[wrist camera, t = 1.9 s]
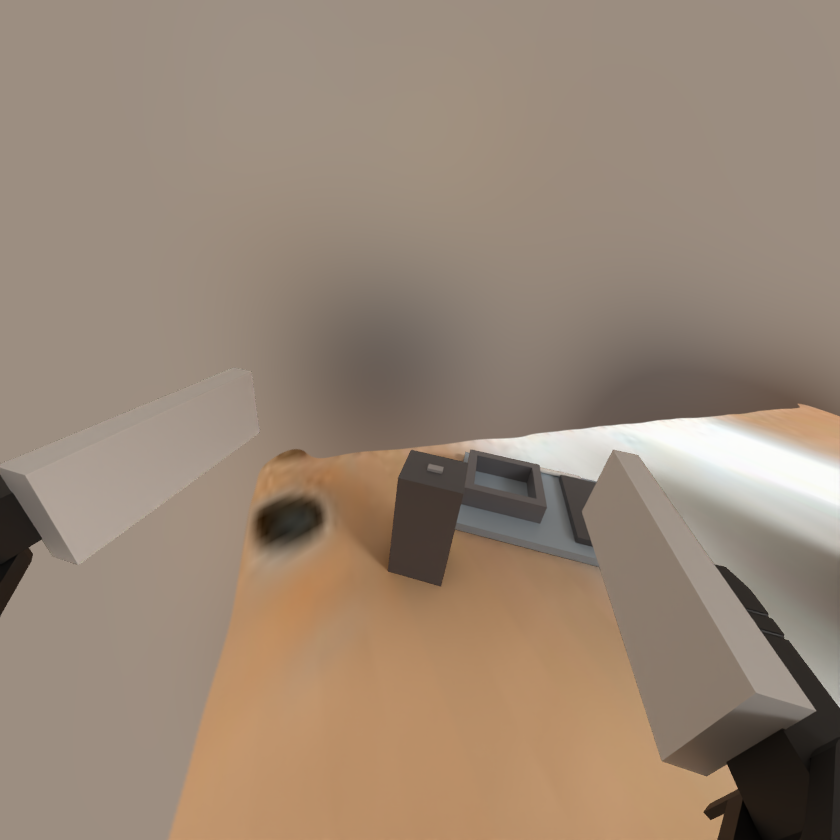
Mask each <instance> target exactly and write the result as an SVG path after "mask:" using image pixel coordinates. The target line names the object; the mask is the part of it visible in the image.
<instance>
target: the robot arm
mask: <svg viewBox="0 0 840 840" xmlns="http://www.w3.org/2000/svg"><path fill="white" fill-rule="evenodd" d="M259 433H260V431H259V423H258V415H257V408H256V401H255V393H254V386H253V378H252V371H248V370H243V369H239V368H231V369H229V370H227V371H224V372H222V373H219V374H217V375H214V376H212V377H209V378H207V379H205V380H202V381H200V382H197V383H195V384H192V385H190V386H188V387H185V388H183V389H180V390H178V391H176V392H173V393H171V394H168V395H166V396H164V397H161V398H158V399H156V400H154V401H151V402H149V403H146V404H144V405H142V406H140V407H137V408H134V409H132V410H129V411H127V412H125V413H122V414H120V415H117V416H115V417H113V418H110V419H108V420H105V421H103V422H100V423H98V424H96V425H94V426H91V427H88V428H86V429H84V430H81V431H79V432H76V433H74V434H71V435H69V436H67V437H64V438H62V439H59V440H57V441H54V442H52V443H50V444H47V445H45V446H42V447H40V448H38V449H35V450H33V451H30V452H28V453H26V454H23V455H20V456H18V457H16V458H13V459H11V460H8V461H6V462H4V463H1V464H0V615H1V614H2V612H3V610H4V608H5V607H6V605H7V603H8V601H9V600H10V598H11V596H12V594H13V593H14V591H15V589H16V587H17V586H18V584H19V582H20V580H21V578H22V577H23V575H24V573H25V571H26V570H27V568H28V565H29V564H30V563H31V560H32V556H33V553H32V552H31V551H30V549H29V548H28V547H30V546H31V545H33V544H35V543H36V542H38V541H40V540H41V539H42V541H43V542H44V544H45V545H46V547H47V548H48V550H49V551H50V553H51V555H52V556H53V557H56V558H59V559H62V560H64V561H67V562H70V563H73V564H76V565H80V564H81V563H82V562H84V561H85V560H86V559H88V558H89V557H90V556H92V555H93V554H94V553H96V552H97V551H99V550H100V549H101V548H103V547H104V546H106V545H107V544H108V543H110V542H111V541H112V540H114V539H115V538H116V537H118V536H119V535H120V534H122V533H123V532H125V531H126V530H127V529H129V528H130V527H131V526H133V525H134V524H136V523H137V522H138V521H140V520H141V519H142V518H144V517H145V516H147V515H148V514H149V513H151V512H152V511H153V510H155V509H156V508H158V507H159V506H160V505H162V504H163V503H164V502H166V501H167V500H169V499H170V498H171V497H173V496H174V495H175V494H177V493H178V492H179V491H181V490H182V489H183V488H185V487H186V486H188V485H189V484H190V483H192V482H193V481H195V480H196V479H197V478H199V477H200V476H201V475H203V474H204V473H206V472H207V471H208V470H210V469H211V468H212V467H214V466H215V465H216V464H218V463H219V462H221V461H222V460H223V459H225V458H226V457H227V456H229V455H230V454H232V453H233V452H234V451H236V450H237V449H238V448H240V447H241V446H242V445H244V444H245V443H247V442H248V441H249V440H251V439H252V438H253V437H255V436H256V435H258V434H259ZM582 514H583V517H584V520H585V523H586V526H587V530H588V533H589V536H590V539H591V542H592V545H593V548H594V551H595V555H596V558H597V561H598V564H599V567H600V570H601V573H602V576H603V580H604V583H605V586H606V589H607V592H608V595H609V598H610V601H611V604H612V608H613V611H614V614H615V617H616V620H617V623H618V626H619V629H620V633H621V636H622V639H623V642H624V645H625V648H626V651H627V654H628V657H629V661H630V664H631V667H632V670H633V673H634V676H635V679H636V682H637V686H638V689H639V692H640V695H641V698H642V701H643V704H644V707H645V710H646V714H647V717H648V720H649V723H650V726H651V729H652V732H653V735H654V739H655V742H656V745H657V748H658V751H659V754H660V757H661V760H662V761H663V762H666V763H669V764H672V765H675V766H678V767H681V768H684V769H687V770H690V771H693V772H696V773H699V774H701V775H704V776H708V775H710V774H711V773H713V772H715V771H716V770H718V769H720V768H721V767H723V766H725V765H728V767H729V769H730V772H731V774H732V776H733V778H734V781H735V783H736V785H737V787H738V789H737V790H735V791H734V792H732V793H730V794H728V795H726V796H724V797H722V798H720V799H718V800H716V801H714V802H712V803H710V804H709V805H708V807H707V808H706V809H705V811H704V813H705V814H706V816H707V817H708V818H709V819H710V820H712V819H714V818H716V817H718V816H720V815H722V814H724V817H723V821H722V825H721V828H720V832H719V836H718V840H840V708H839V707H838V705H837V704H836V703H835V701H834V700H833V699H832V697H831V696H830V695H829V693H828V692H827V691H826V689H825V688H824V687H823V685H822V684H821V683H820V681H819V680H818V679H817V677H816V676H815V675H814V673H813V672H812V671H811V670H810V668H809V667H808V666H807V664H806V663H805V662H804V660H803V659H802V658H801V656H800V655H799V654H798V652H797V651H796V650H795V648H794V647H793V646H792V644H791V643H790V642H789V640H785V639H784V634H783V632H782V631H781V630H780V628H779V627H778V626H777V624H776V623H775V622H774V620H773V619H771V618H769V617H768V612H767V611H766V610H765V608H764V607H763V606H762V604H761V603H760V602H759V600H758V599H757V598H756V596H755V595H754V594H753V592H752V591H751V590H750V589H749V588H748V587H747V586H746V585H745V584H744V583H743V582H741V581H740V580H739V579H738V578H737V577H736V576H735V575H734V574H733V573H732V572H730V571H729V570H728V569H727V568H726V567H723V566H719V565H715V564H714V563H713V562H712V560H711V559H710V558H709V556H708V555H707V553H706V552H705V550H704V549H703V547H702V546H701V545H700V543H699V542H698V540H697V539H696V537H695V536H694V535H693V533H692V532H691V530H690V529H689V527H688V526H687V525H686V523H685V522H684V520H683V519H682V517H681V516H680V515H679V513H678V512H677V510H676V509H675V507H674V506H673V504H672V503H671V502H670V500H669V499H668V497H667V496H666V494H665V493H664V492H663V490H662V489H661V487H660V486H659V484H658V483H657V482H656V480H655V479H654V477H653V476H652V474H651V473H650V471H649V470H648V469H647V467H646V466H645V464H644V463H643V461H642V460H641V459H640V457H639V456H638V455H635V454H631V453H626V452H621V451H617V450H613V451H612V453H611V455H610V457H609V459H608V461H607V463H606V465H605V467H604V469H603V471H602V473H601V475H600V477H599V479H598V481H597V483H596V485H595V487H594V489H593V490H592V492H591V494H590V496H589V498H588V500H587V502H586V504H585V506H584V508H583V510H582Z"/></svg>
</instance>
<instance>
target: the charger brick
mask: <svg viewBox="0 0 840 840" xmlns="http://www.w3.org/2000/svg"><path fill="white" fill-rule="evenodd" d="M467 468H468V463H466V462H462V461H457V460H453V459H449V458H444V457H440V456H436V455H431V454H427V453H423V452H418V451H414V450H411V451H410V453H409V456H408V458H407V460H406V462H405V464H404V466H403V469H402V471H401V473H400V475H399V477H398V484H397V493H396V502H395V511H394V520H393V530H392V539H391V548H390V557H389V566H388V571H389V572H392V573H396V574H399V575H403V576H406V577H410V578H413V579H417V580H420V581H424V582H427V583H431V584H434V585H438V586H441V584H442V580H443V576H444V572H445V568H446V564H447V560H448V556H449V551H450V547H451V543H452V539H453V535H454V531H455V527H456V523H457V519H458V514H459V510H460V506H461V502H462V498H463V494H464V488H465V481H466V475H467Z"/></svg>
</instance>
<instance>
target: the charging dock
mask: <svg viewBox="0 0 840 840" xmlns="http://www.w3.org/2000/svg"><path fill="white" fill-rule="evenodd" d="M464 462H466V463H468V468H467V475H466V481H465V488H464V494H463V498H462V502H461V506H460V510H459V514H458V519H457V523H456V527H455V529H456V530H460V531H464V532H467V533H471V534H475V535H479V536H483V537H487V538H490V539H494V540H498V541H502V542H506V543H510V544H513V545H517V546H521V547H525V548H529V549H533V550H536V551H540V552H544V553H548V554H552V555H556V556H559V557H563V558H567V559H571V560H575V561H579V562H582V563H586V564H590V565H594V566H598V567H599V564H598V561H597V558H596V555H595V551H594V548H593V545H592V542H591V539H590V536H589V533H588V530H587V526H586V523H585V520H584V517H583V514H582V510H583V508H584V506H585V504H586V502H587V500H588V498H589V496H590V494H591V492H592V490H593V489H594V487H595V485H596V483H597V482H596V481H592V480H587V479H583V478H580V476H576V475H572V474H568V473H563V472H559V471H554V470H550V469H545V468H541V467H540V466H539V465H537V464H533V463H528V462H524V461H520V460H515V459H511V458H506V457H502V456H497V455H493V454H488V453H484V452H479V451H475V450H470V453H468V452H465V456H464Z"/></svg>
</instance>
